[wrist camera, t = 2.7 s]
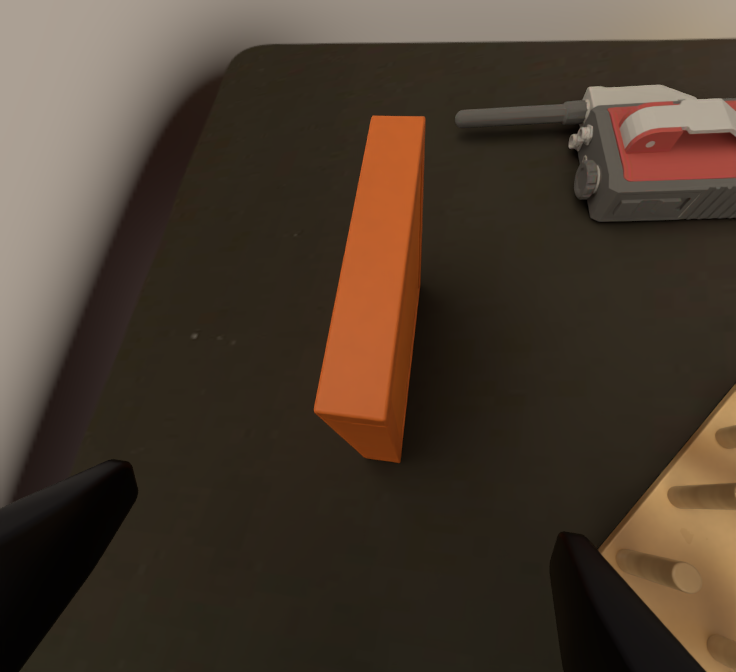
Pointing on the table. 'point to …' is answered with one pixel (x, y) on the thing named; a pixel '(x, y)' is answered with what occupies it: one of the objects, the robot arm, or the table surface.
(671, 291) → the table surface
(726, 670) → the rack
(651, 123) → the walkie-talkie
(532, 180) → the table surface
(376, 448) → the lid
